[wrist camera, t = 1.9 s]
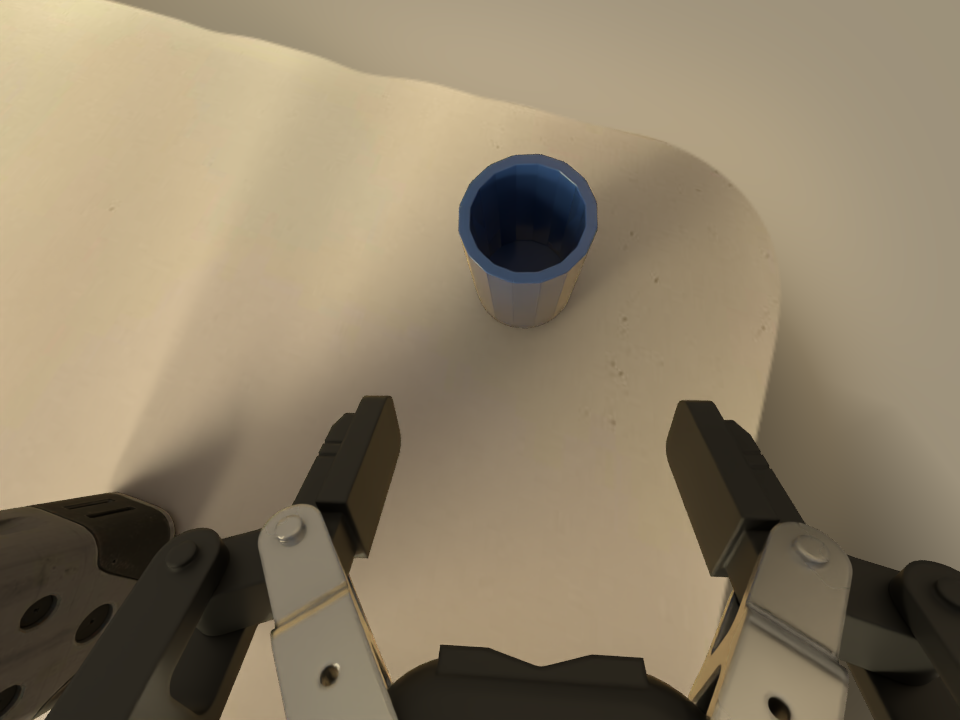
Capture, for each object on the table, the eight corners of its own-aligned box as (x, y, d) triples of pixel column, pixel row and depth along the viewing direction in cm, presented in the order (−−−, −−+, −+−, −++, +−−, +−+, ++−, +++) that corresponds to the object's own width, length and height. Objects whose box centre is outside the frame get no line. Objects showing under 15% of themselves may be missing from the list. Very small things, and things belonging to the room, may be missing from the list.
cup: (571, 236, 25) (596, 151, 18) (572, 328, 25) (599, 282, 17) (477, 238, 26) (460, 156, 18) (475, 328, 25) (456, 283, 17)
